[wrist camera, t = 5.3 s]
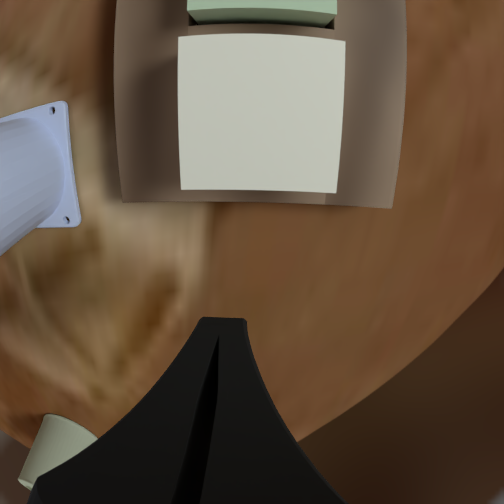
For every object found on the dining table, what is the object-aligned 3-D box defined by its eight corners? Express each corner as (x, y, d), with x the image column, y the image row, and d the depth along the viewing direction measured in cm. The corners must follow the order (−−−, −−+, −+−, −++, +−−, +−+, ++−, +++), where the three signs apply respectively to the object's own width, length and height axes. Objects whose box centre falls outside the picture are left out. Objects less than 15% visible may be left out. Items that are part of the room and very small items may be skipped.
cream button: (197, 169, 15) (181, 189, 12) (196, 50, 12) (178, 36, 9) (319, 172, 15) (336, 193, 12) (325, 53, 12) (345, 41, 9)
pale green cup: (33, 407, 30) (3, 473, 20) (84, 421, 30) (56, 499, 20) (62, 440, 35) (41, 500, 24) (111, 453, 34) (93, 520, 24)
